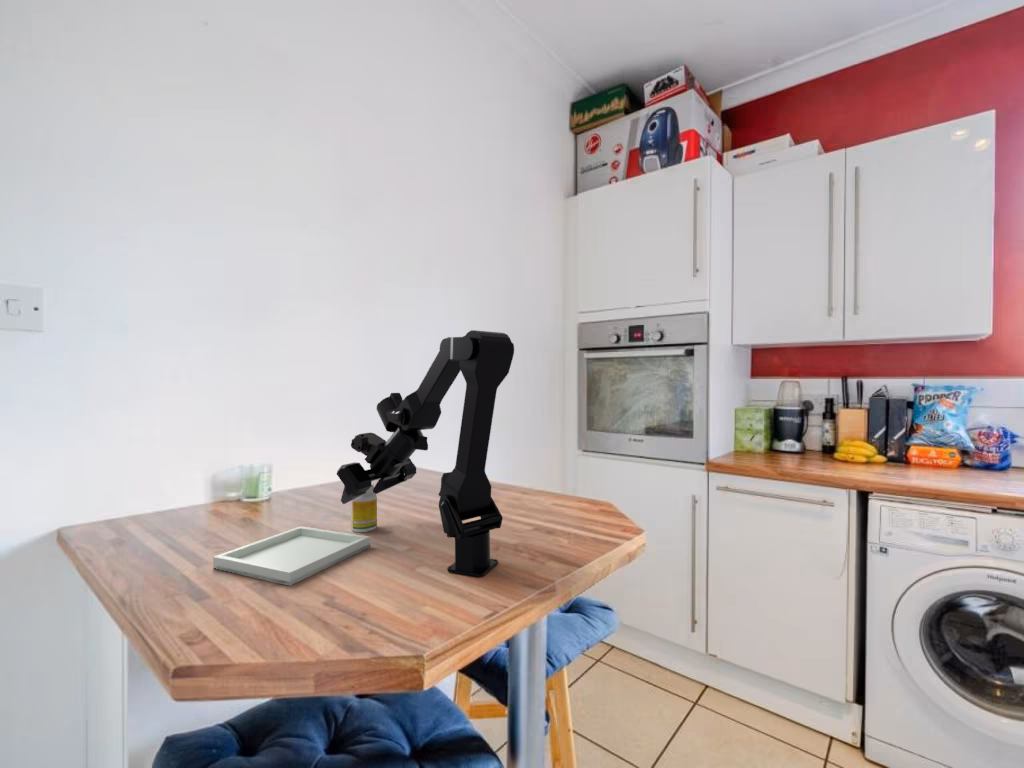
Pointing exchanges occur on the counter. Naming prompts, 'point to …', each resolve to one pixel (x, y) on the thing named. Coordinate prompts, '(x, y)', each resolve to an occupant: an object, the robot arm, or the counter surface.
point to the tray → (291, 554)
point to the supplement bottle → (364, 512)
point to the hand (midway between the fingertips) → (358, 497)
